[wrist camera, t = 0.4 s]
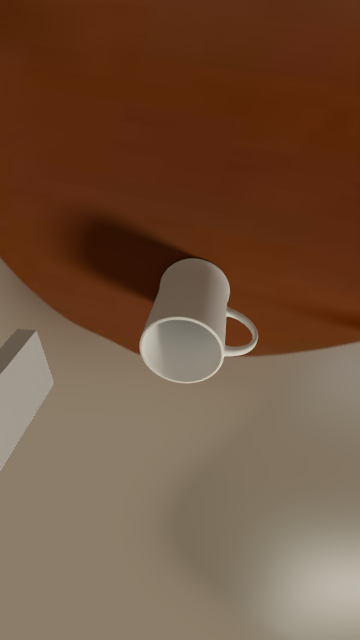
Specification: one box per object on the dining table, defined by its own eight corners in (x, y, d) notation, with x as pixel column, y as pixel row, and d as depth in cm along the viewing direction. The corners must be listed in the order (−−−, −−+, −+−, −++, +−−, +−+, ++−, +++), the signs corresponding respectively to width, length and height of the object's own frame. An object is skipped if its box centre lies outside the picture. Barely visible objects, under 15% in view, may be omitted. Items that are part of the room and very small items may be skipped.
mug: (266, 278, 40) (276, 342, 30) (240, 334, 45) (240, 404, 35) (169, 248, 39) (146, 302, 30) (153, 307, 44) (129, 371, 34)
